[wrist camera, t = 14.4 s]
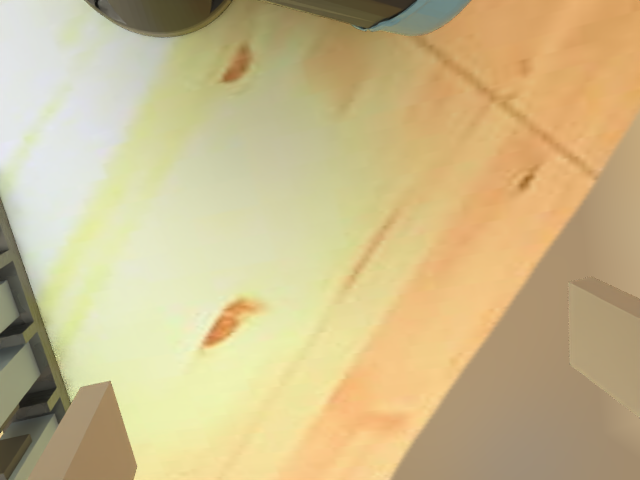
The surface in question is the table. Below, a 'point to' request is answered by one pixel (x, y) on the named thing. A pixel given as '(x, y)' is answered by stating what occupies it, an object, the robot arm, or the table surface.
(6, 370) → the block
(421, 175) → the table surface
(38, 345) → the rail
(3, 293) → the fitted fingers
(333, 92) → the table surface
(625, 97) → the table surface
